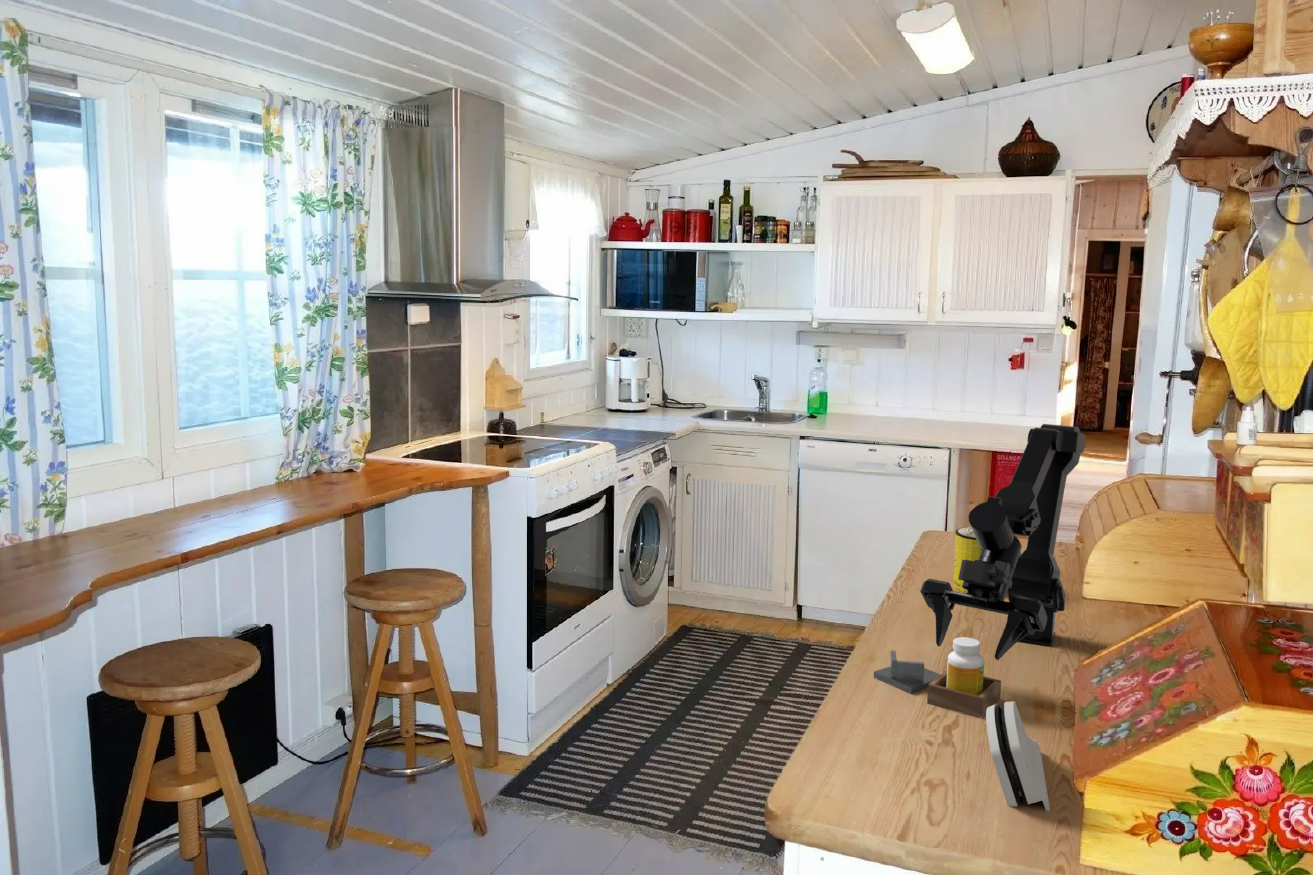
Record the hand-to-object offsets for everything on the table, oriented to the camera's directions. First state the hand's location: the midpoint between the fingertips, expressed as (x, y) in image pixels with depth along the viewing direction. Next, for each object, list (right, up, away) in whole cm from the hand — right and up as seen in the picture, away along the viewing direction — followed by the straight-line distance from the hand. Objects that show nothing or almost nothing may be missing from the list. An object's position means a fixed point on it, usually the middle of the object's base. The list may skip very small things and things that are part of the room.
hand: (966, 651), depth 157 cm
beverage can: (+19, +1, +56) cm, 60 cm away
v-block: (-7, -7, +9) cm, 13 cm away
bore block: (0, -8, +1) cm, 8 cm away
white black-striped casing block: (0, -12, -22) cm, 25 cm away
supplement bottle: (0, -8, +1) cm, 8 cm away
